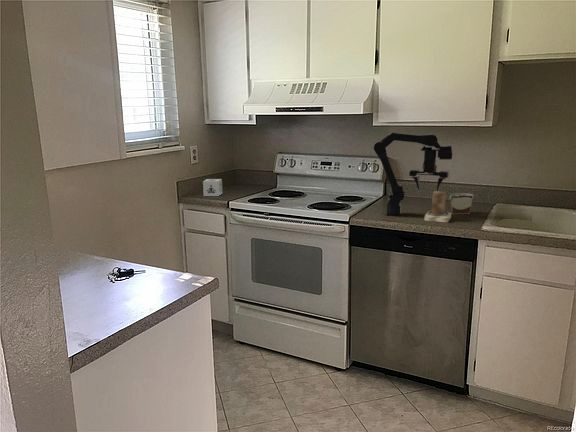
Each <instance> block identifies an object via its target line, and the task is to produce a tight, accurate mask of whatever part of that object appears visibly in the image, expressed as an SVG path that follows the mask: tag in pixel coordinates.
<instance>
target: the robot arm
mask: <svg viewBox="0 0 576 432" xmlns="http://www.w3.org/2000/svg"><path fill="white" fill-rule="evenodd" d="M394 141H397V142H398V141H399V142H407V143H417V144H421V145H423V146H422V147H421V148H420V151H422V152H423V163H422V170H423V171H421V170H420V169H415V168H414V169H410V170H409V173H408V176H409V177H411V178H412V179H413V180H414V181H415V182H414V183H416V184H415V185H416V187H417V190H418V191H419V190H420V189H421V187H420V186H421V184H420V183H421V181H420V176H435V177H436V176H437V177H438V180H437V186H436V191H439V190H440V187H441V184H442V183H443V181H444V180H446V178H447V179H448V178H450V171H449V170H440V171H437V169H438V166H437V163H436V161H437V160H436V159H437V158H438V159H439V160H442V161H443V160H446V161H447V160H449V161H450V160H452V159H453V150H452V148H453V147H452V145H445V146H443V145H442V146H441V145H440V143H439V142H438V138H437V135H434V134H433V133H425V134H409V133H401V132H400V133H399V132H394V131H392V132H389V134H388V135H386V136H385V137H384V138H382V139H381V140H378V141H375V142H374V144H373V150H374V153H375V154H376V156H377V157H378V159H379V160H380V162H381V165H382V167H383V170H384V172H385V175H386V178H387V179H388V183H389V186H390V189H391V194H390V195H389V196H388V197H387V199H388V200H387V201H388V202H387V205H386V214H385V215H386V216H392V217H399V216H400V215H401V214H402V203H401V201H403V200H404V198H405V189H404V188H403V185H402V183H398V181H397V179H396V177H395V174H394V170H393V168H392V166H391V164H390V163H391V162H390V161H389V159H388V154H387V149H386V148H387V147H388V146H389V145H390V144H393V142H394ZM432 147H434V148H432Z"/></svg>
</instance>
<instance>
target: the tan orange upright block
mask: <svg viewBox="0 0 576 432" xmlns="http://www.w3.org/2000/svg"><path fill="white" fill-rule="evenodd" d="M431 197H432V198H431V199H432V201H431V210H432V214H441V215H444V214H445V211H446V202H447V201H446V200H447V191H439V190H438V191H437V190H434V191H433V192H432V196H431Z"/></svg>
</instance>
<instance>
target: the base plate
mask: <svg viewBox="0 0 576 432" xmlns="http://www.w3.org/2000/svg"><path fill="white" fill-rule="evenodd" d="M451 219H452V213H451V212H449V211H448V210H447V211H446V210H445V214H444V215H441V214H432V209H431V210H428V211H427V212H426V213H425V215H424V221H426V222H427V221H428V222H437V223H438V222H439V223H449V222H450V220H451Z"/></svg>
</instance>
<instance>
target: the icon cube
mask: <svg viewBox="0 0 576 432" xmlns="http://www.w3.org/2000/svg"><path fill="white" fill-rule="evenodd" d="M202 185H203V186H202V189H203V197H204V196H219V195H221V194H222V195H223V179H222V178H206V179H204V180H203V181H202ZM222 195H221V196H222Z"/></svg>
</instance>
